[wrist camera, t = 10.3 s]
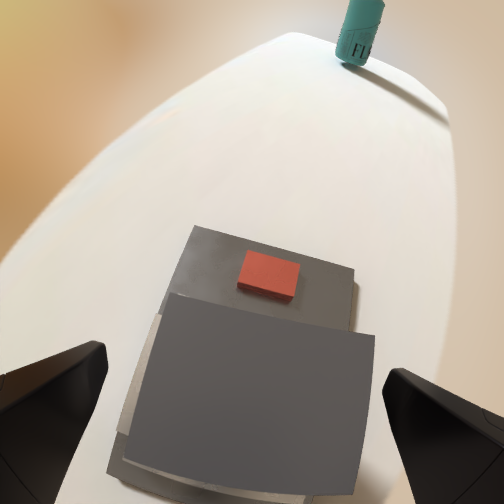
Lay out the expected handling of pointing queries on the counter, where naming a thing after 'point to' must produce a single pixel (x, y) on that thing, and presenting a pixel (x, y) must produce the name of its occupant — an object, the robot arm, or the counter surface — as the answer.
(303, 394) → the plug block
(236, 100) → the counter surface
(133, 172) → the counter surface
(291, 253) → the grey socket base
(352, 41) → the beverage bottle
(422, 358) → the counter surface
